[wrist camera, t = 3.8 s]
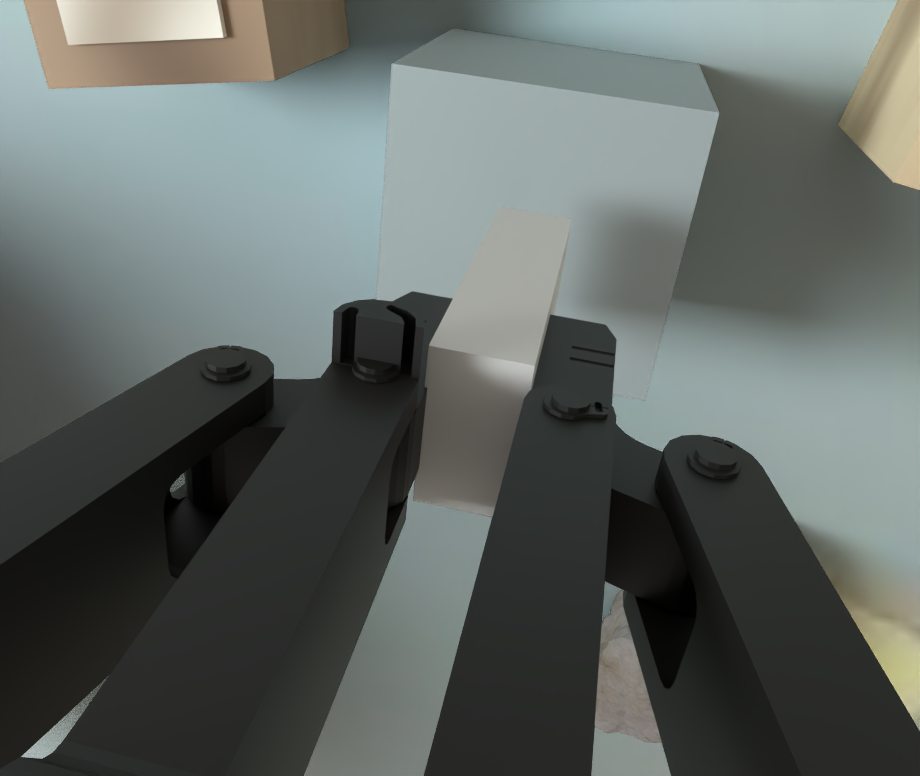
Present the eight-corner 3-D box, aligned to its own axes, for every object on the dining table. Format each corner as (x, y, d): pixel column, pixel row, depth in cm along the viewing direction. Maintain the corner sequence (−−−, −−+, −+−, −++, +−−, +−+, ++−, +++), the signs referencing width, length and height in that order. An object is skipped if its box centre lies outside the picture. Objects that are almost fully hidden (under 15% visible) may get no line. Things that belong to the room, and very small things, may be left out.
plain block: (430, 256, 27) (373, 349, 21) (453, 27, 24) (391, 63, 18) (643, 293, 27) (644, 400, 21) (698, 63, 23) (719, 113, 17)
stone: (597, 474, 30) (590, 583, 25) (826, 513, 30) (864, 634, 25) (559, 662, 35) (547, 784, 30) (754, 700, 34) (774, 833, 29)
